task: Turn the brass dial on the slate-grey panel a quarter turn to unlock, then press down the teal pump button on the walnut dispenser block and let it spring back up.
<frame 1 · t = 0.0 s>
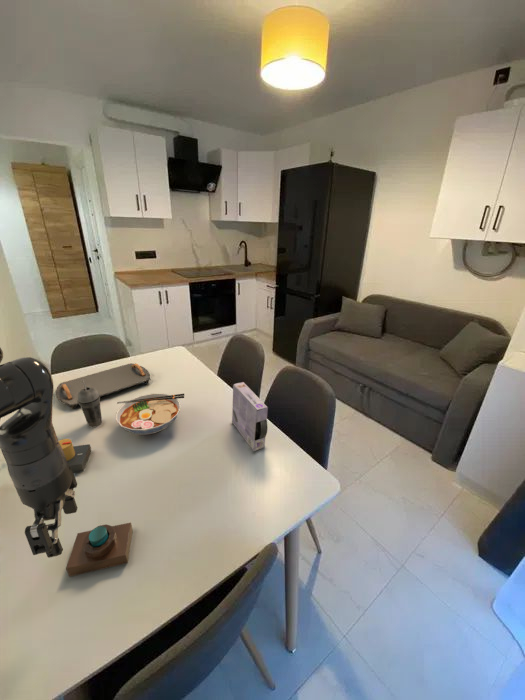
hand: (64, 531, 56), 17 cm above the table, tool pointing down, fingers open, 8 cm apart
serving tray: (106, 387, 136), on the table
pump button: (98, 536, 66), point 6 cm above the table, slide at 0.1 cm
beverage cup: (95, 423, 111), on the table
dial: (64, 449, 91), point 6 cm above the table, hinge at 0.0°
dispenser: (103, 551, 69), on the table
dial panel: (68, 463, 93), on the table
cake pan box: (248, 435, 108), on the table
pink printed box: (42, 447, 99), on the table
ramen bowl: (151, 426, 111), on the table
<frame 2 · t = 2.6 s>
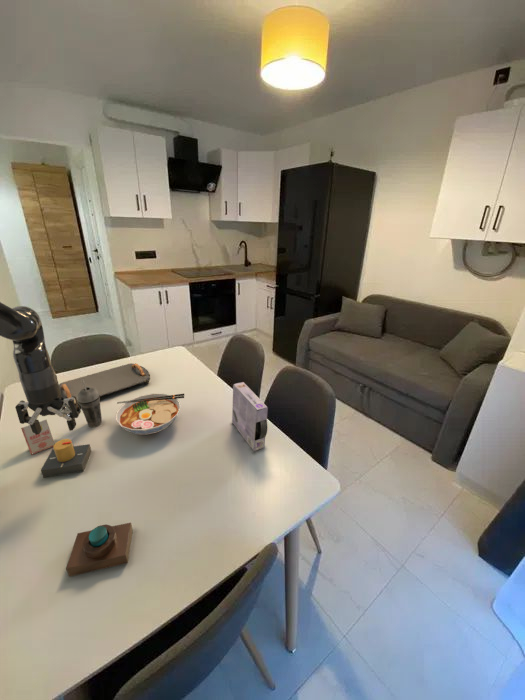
hand: (55, 430, 83), 16 cm above the table, tool pointing down, fingers open, 8 cm apart
nothing on the table moved.
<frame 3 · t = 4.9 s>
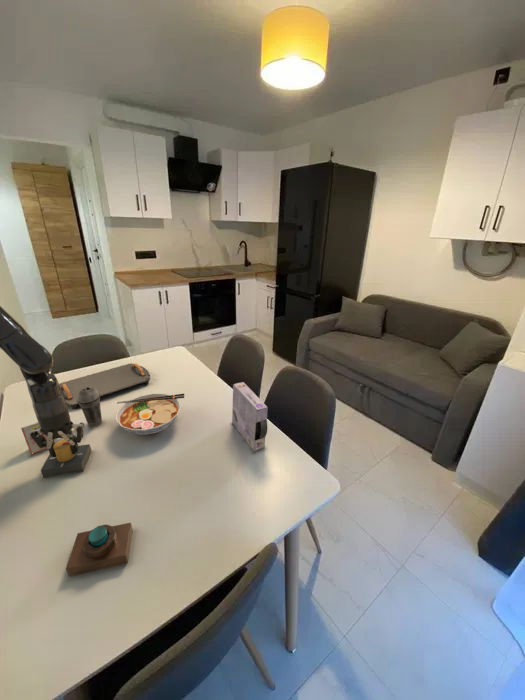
hand: (65, 453, 91), 4 cm above the table, tool pointing down, fingers closed on dial, 5 cm apart
dial: (64, 449, 91), point 6 cm above the table, hinge at 0.2°, touching gripper
everything else where it was.
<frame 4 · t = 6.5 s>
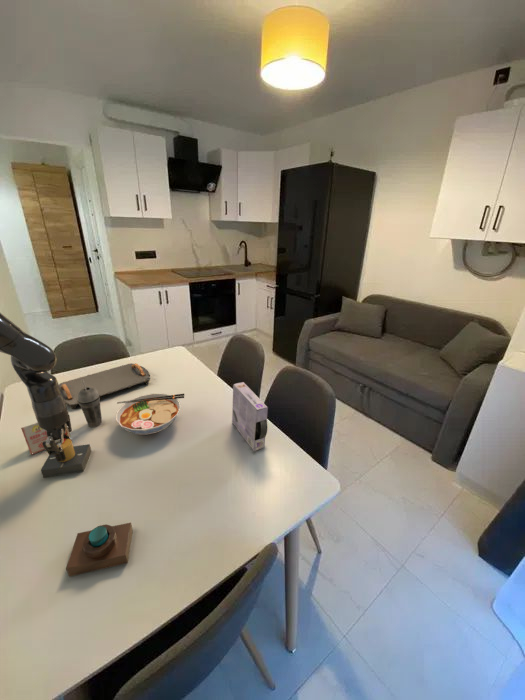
hand: (64, 453, 91), 4 cm above the table, tool pointing down, fingers closed on dial, 5 cm apart
dial: (64, 449, 91), point 6 cm above the table, hinge at 91.7°, touching gripper
everything else where it was.
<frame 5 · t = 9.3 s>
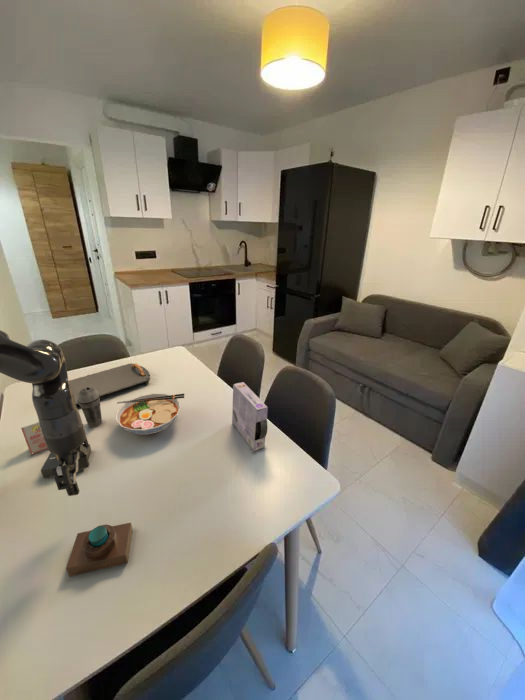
hand: (79, 479, 72), 13 cm above the table, tool pointing down, fingers open, 8 cm apart
dial: (64, 449, 91), point 6 cm above the table, hinge at 90.7°
everything else where it was.
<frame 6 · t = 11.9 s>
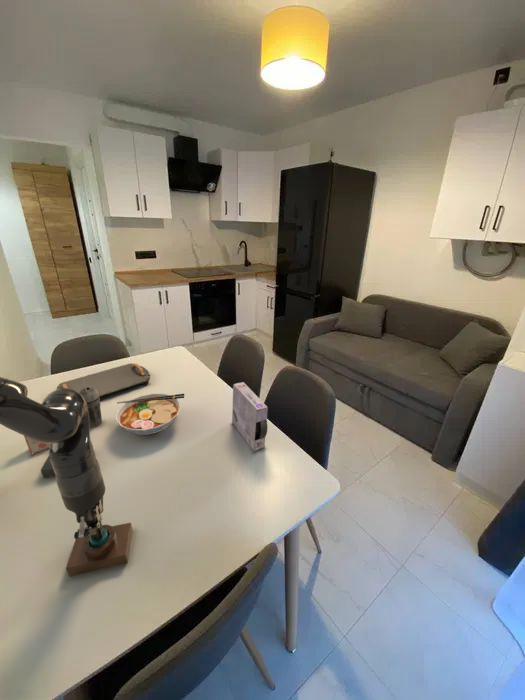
hand: (98, 535, 66), 6 cm above the table, tool pointing down, fingers closed
pump button: (99, 538, 67), point 5 cm above the table, slide at -0.6 cm, touching gripper
everything else where it was.
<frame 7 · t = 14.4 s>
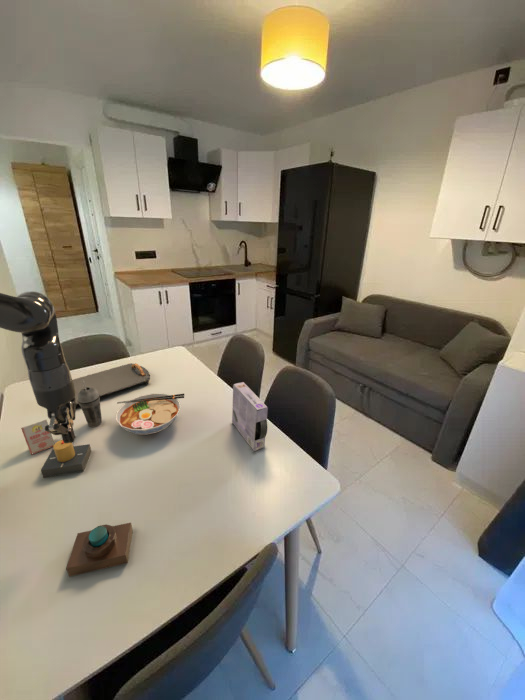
hand: (70, 440, 73), 21 cm above the table, tool pointing down, fingers closed
pump button: (98, 536, 66), point 6 cm above the table, slide at 0.1 cm
everything else where it was.
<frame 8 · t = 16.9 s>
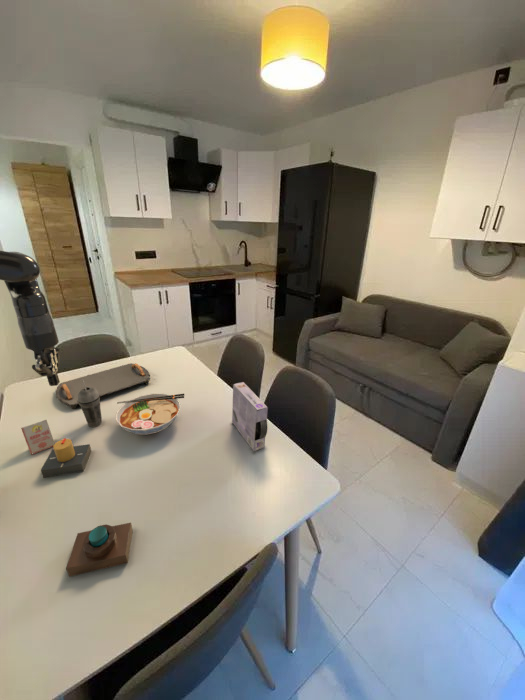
hand: (54, 384, 86), 27 cm above the table, tool pointing down, fingers closed
nothing on the table moved.
at the end: dial at +91° (first picture: +0°); pump button pushed in 1.3 cm at the most during the clip, back to where it started at the end; pump button slide at 0.1 cm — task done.
